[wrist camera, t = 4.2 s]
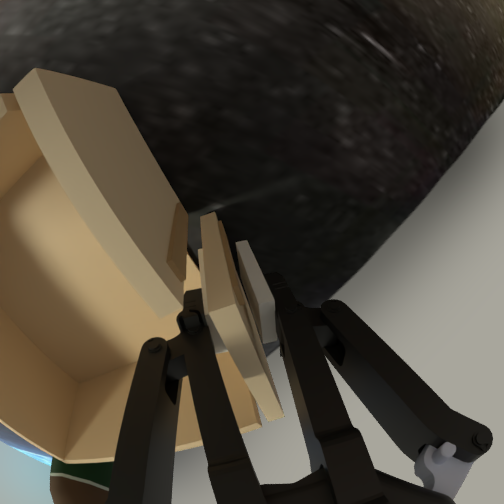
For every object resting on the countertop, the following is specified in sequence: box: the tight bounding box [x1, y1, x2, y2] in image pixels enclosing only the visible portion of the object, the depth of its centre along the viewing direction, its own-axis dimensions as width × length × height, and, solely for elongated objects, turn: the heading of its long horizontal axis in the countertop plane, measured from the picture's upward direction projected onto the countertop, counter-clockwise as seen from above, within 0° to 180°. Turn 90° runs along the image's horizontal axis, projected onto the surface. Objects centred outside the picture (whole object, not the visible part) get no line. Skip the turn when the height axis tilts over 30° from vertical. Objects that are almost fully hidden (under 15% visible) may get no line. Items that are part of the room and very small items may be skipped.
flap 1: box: [13, 68, 188, 319], centre depth 11 cm, size 1×9×10 cm, turn 25°
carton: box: [0, 93, 262, 464], centre depth 14 cm, size 20×20×10 cm
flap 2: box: [200, 212, 285, 422], centre depth 16 cm, size 1×9×10 cm, turn 16°
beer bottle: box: [50, 457, 114, 504], centre depth 16 cm, size 8×8×24 cm
